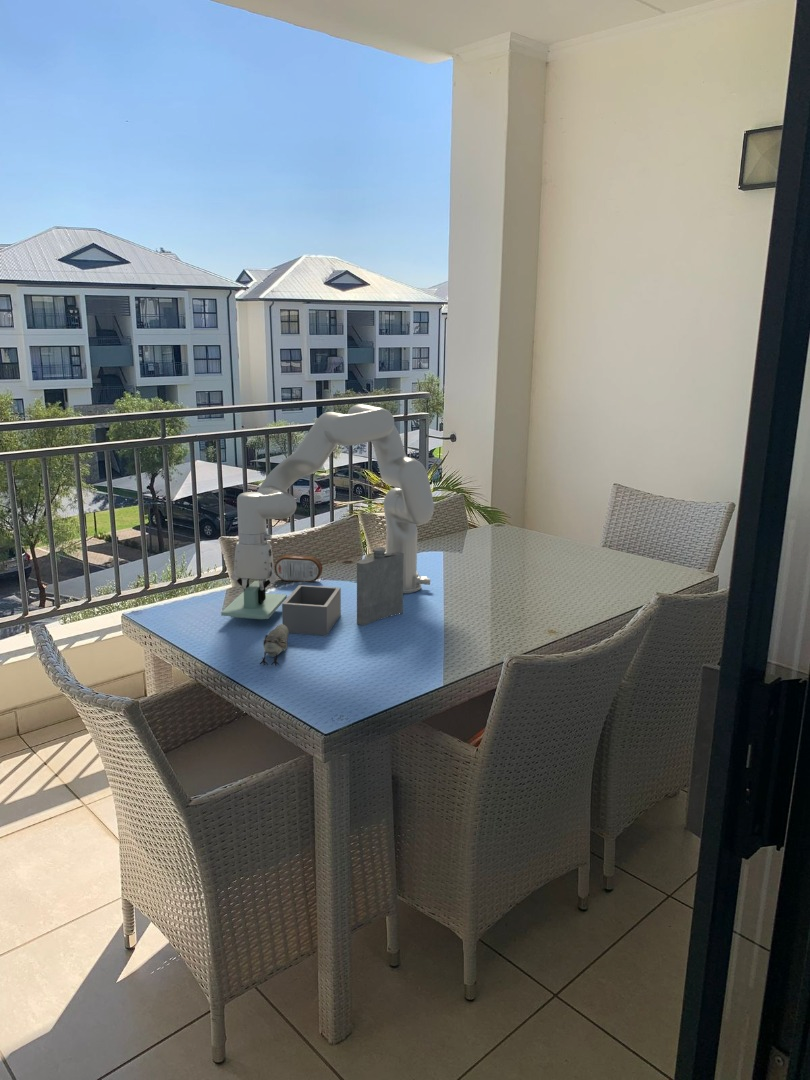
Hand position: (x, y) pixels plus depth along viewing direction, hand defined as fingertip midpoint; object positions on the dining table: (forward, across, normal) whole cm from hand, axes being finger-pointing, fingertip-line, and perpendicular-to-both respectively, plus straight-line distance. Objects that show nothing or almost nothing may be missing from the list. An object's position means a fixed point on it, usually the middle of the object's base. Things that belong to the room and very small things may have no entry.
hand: (255, 601), depth 218 cm
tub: (+4, -17, +2) cm, 18 cm away
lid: (+3, 0, 0) cm, 3 cm away
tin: (+5, -3, -33) cm, 33 cm away
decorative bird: (+5, -14, +24) cm, 28 cm away
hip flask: (+5, -34, -6) cm, 35 cm away
